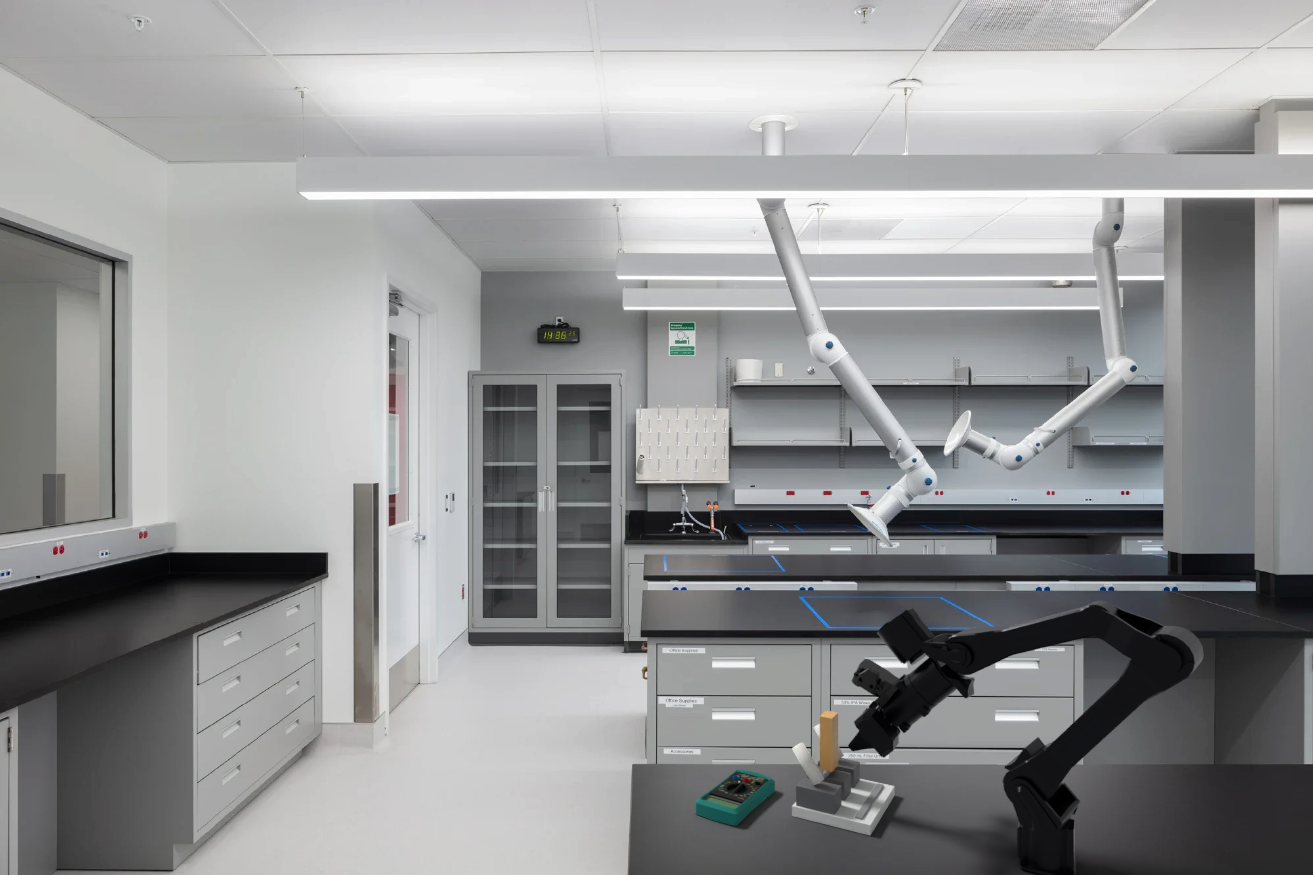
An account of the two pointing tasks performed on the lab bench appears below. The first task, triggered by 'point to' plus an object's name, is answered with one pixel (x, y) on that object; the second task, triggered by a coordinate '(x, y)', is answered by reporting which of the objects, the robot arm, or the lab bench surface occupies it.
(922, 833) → the lab bench surface
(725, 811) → the digital multimeter
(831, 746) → the wooden block
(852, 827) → the twin post stand
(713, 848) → the lab bench surface
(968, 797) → the lab bench surface
